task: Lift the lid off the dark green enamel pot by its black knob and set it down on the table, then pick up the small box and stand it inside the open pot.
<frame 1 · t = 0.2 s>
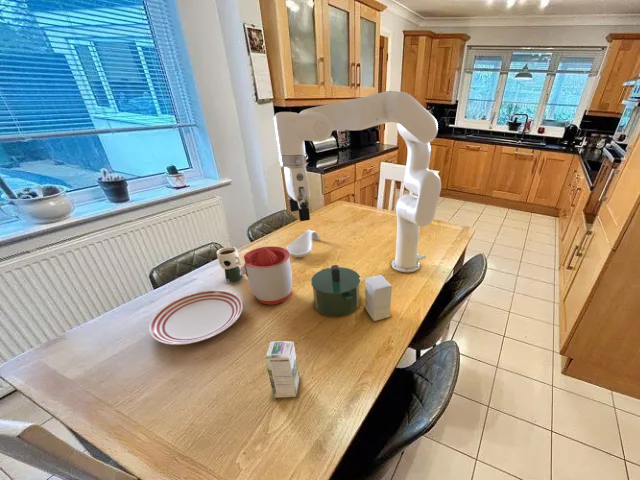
hand: (300, 215, 100), 31 cm above the table, tool pointing down, fingers open, 9 cm apart
pot: (337, 302, 113), on the table
dinner plate: (201, 321, 102), on the table
character mug: (235, 280, 124), on the table
citrus juicer: (272, 297, 115), on the table
lid: (336, 280, 108), point 9 cm above the table, touching pot
spoon rest: (305, 249, 148), on the table
syrup box: (287, 389, 81), on the table
small box: (377, 313, 109), on the table
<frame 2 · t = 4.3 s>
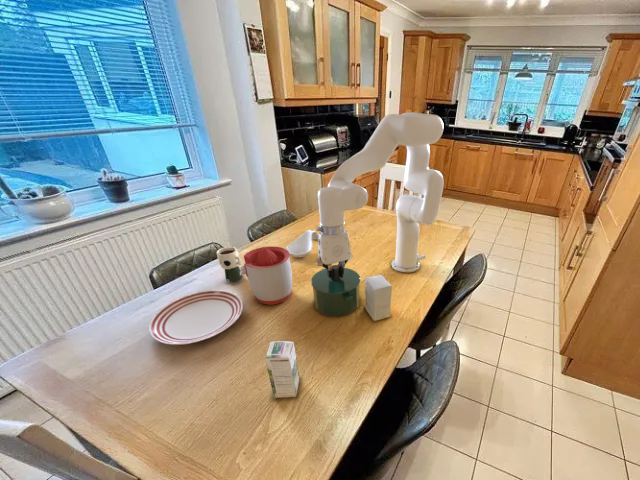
hand: (335, 276, 107), 11 cm above the table, tool pointing down, fingers closed on lid, 2 cm apart
lid: (336, 280, 108), point 10 cm above the table, touching gripper, pot
everything else where it was.
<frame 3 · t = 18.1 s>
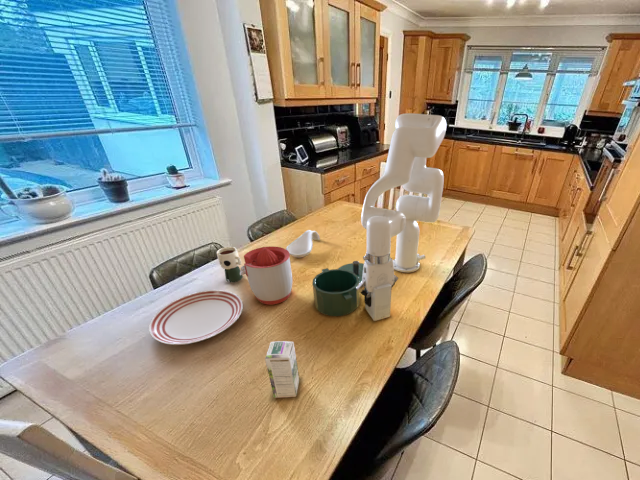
hand: (377, 301, 106), 5 cm above the table, tool pointing down, fingers closed on small box, 6 cm apart
lid: (356, 274, 129), point 1 cm above the table
small box: (377, 313, 109), on the table, touching gripper
everything else where it was.
when the fingers open (5 cm above the table, at t = 26.2 s): small box stays where it is, resting on pot.
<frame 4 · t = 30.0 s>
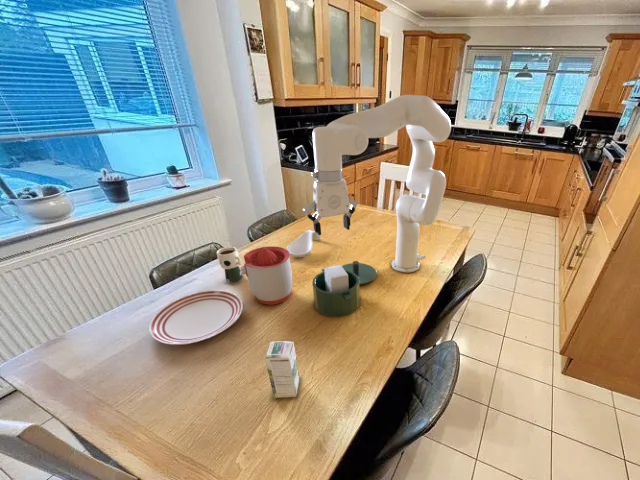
hand: (332, 230, 97), 28 cm above the table, tool pointing down, fingers open, 9 cm apart
small box: (337, 302, 113), resting on pot
everything else where it was.
at the end: lid inside the target area (0.2 cm from its centre), point 0.6 cm above the table; small box inside the target area in the pot (0.4 cm from its centre), point 0.3 cm above the pot's base; small box tilted 0° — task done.
